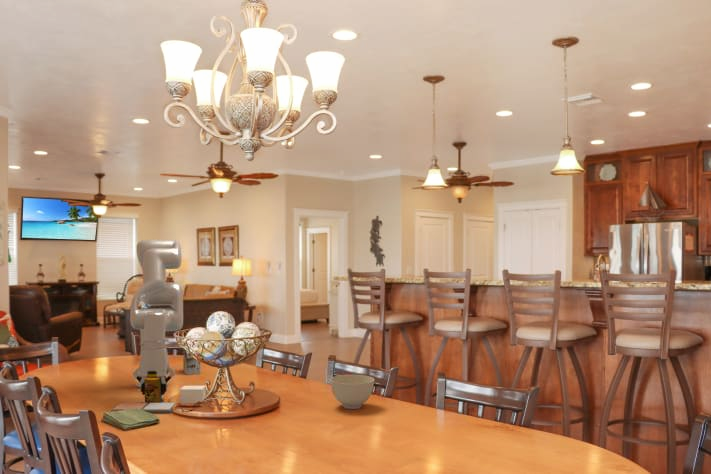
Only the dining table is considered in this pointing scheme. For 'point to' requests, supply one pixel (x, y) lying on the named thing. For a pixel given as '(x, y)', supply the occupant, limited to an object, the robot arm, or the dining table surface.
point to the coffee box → (190, 365)
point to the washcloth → (130, 418)
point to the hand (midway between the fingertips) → (153, 393)
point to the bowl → (352, 389)
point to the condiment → (153, 388)
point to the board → (147, 407)
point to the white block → (192, 394)
